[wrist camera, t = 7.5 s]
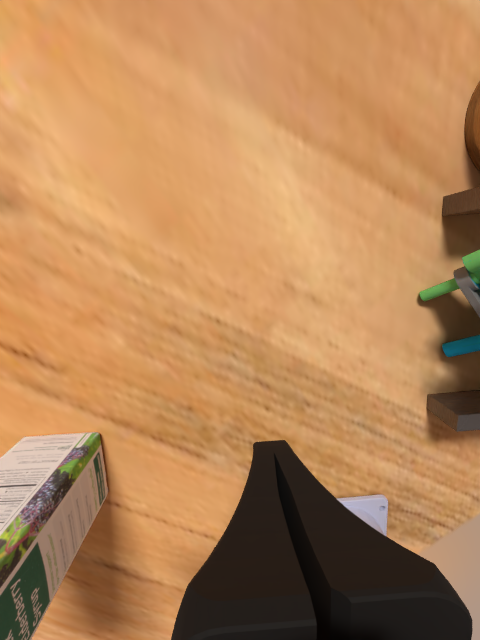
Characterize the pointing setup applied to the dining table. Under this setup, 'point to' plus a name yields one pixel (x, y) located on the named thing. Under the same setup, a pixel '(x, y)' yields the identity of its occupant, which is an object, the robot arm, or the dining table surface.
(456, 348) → the gear
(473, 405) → the frame
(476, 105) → the call bell
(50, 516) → the syrup box
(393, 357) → the dining table surface
